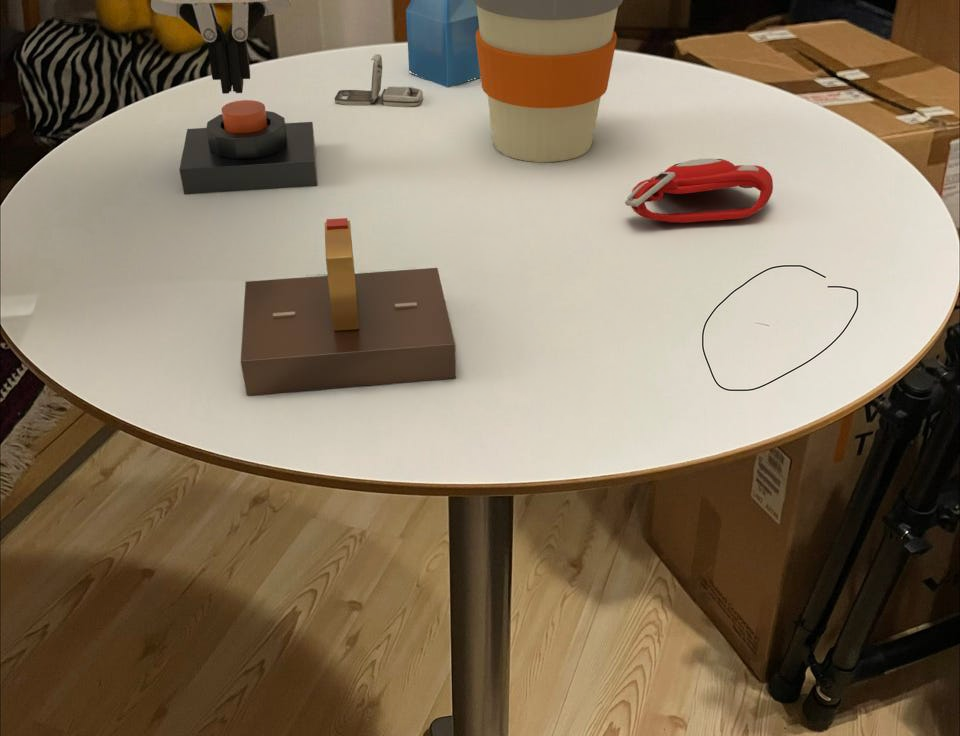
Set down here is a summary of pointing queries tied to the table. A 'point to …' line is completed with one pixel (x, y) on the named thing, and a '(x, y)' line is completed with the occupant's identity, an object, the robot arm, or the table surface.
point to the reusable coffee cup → (545, 73)
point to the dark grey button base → (248, 157)
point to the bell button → (244, 116)
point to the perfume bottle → (443, 40)
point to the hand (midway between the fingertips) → (233, 87)
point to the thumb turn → (341, 274)
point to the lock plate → (346, 333)
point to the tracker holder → (701, 188)
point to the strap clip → (388, 96)
